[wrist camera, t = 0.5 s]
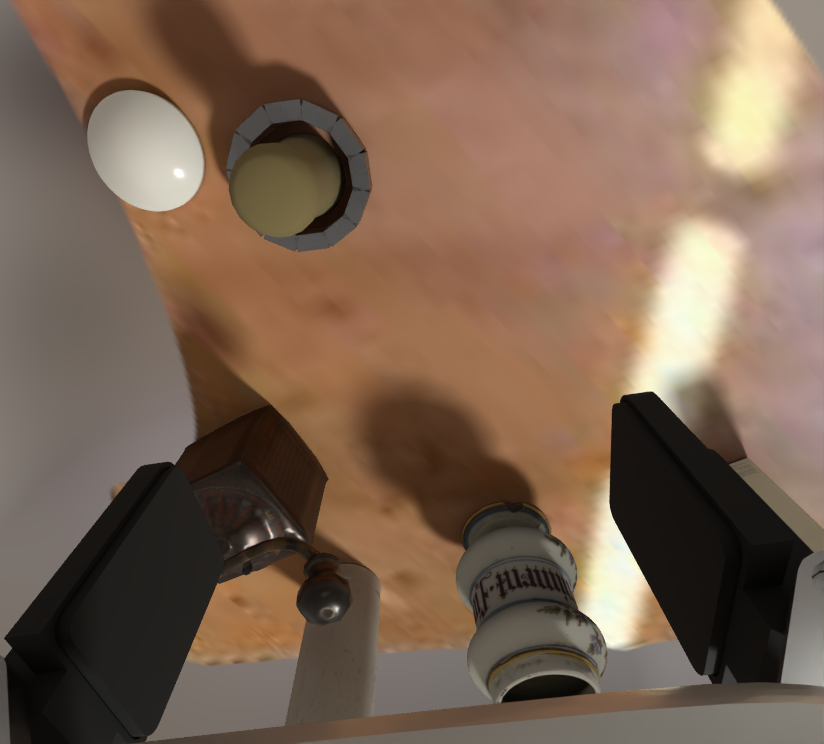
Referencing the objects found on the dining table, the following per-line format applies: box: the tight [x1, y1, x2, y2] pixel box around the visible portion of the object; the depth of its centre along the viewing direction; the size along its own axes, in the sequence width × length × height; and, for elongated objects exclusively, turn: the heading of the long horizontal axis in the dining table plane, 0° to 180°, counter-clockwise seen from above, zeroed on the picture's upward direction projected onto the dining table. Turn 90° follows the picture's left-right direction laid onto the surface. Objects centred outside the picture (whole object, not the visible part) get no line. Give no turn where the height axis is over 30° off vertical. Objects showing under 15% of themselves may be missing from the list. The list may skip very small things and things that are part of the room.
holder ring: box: [226, 99, 372, 252], centre depth 35 cm, size 10×10×2 cm
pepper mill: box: [175, 405, 353, 626], centre depth 40 cm, size 16×11×18 cm
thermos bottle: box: [285, 564, 380, 726], centre depth 44 cm, size 8×8×28 cm
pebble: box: [87, 90, 206, 211], centre depth 35 cm, size 8×8×1 cm
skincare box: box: [729, 458, 824, 553], centre depth 45 cm, size 6×4×12 cm
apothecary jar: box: [456, 502, 607, 704], centre depth 45 cm, size 12×12×18 cm
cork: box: [229, 133, 345, 238], centre depth 31 cm, size 6×6×11 cm
